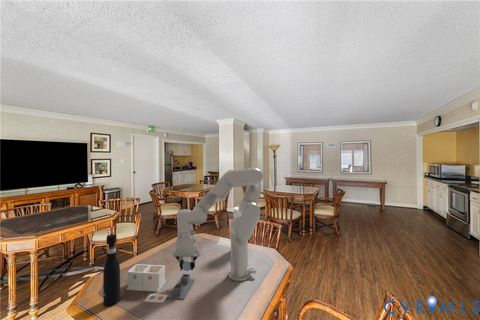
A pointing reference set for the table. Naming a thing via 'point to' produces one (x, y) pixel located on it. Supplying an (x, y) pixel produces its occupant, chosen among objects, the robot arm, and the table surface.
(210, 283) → the table surface
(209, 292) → the table surface
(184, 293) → the ball stand
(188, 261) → the slate ball
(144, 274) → the two-slot cubby shelf
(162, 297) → the card
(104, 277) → the wine bottle
